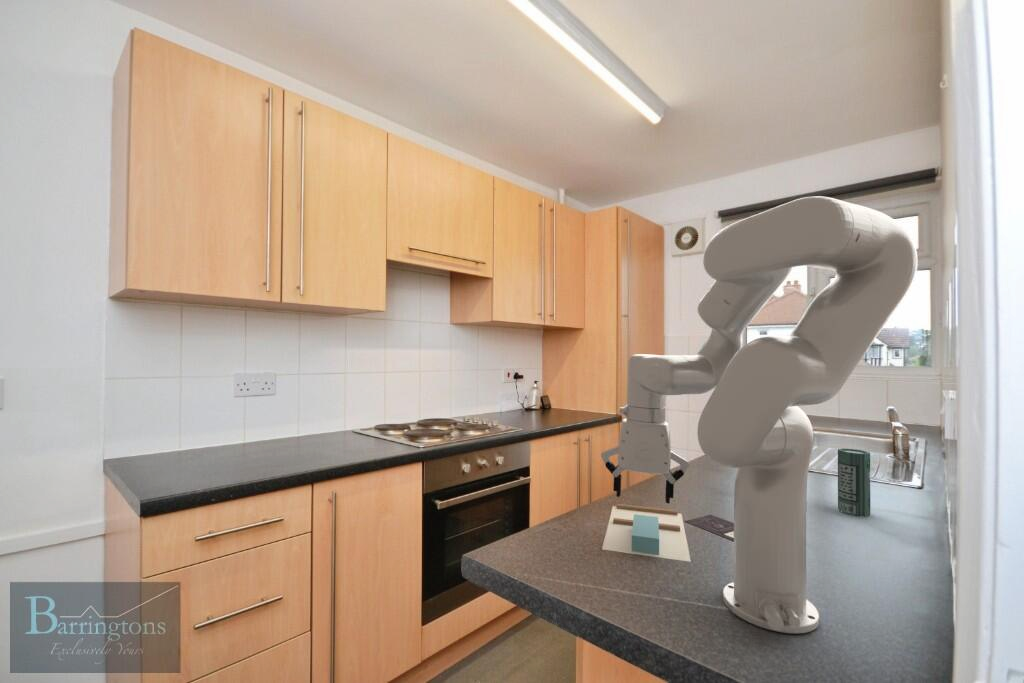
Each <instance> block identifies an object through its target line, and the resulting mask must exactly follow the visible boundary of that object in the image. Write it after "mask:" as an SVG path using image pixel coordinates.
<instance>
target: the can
mask: <svg viewBox="0 0 1024 683" xmlns="http://www.w3.org/2000/svg"><path fill="white" fill-rule="evenodd" d="M838 509H839V510H838ZM837 510H838V511H839V512H841V511H842V512H843V514H845V513H846V515H848V516H853V515H855V516H854V517H860V516H862V517H863V516H864V517H863V518H866V516H867V517H871V453H870V452H869V451H865V450H862V449H857V448H856V449H855V448H838V449H837ZM842 512H841V513H842ZM851 514H852V515H851Z"/></svg>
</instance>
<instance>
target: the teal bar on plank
mask: <svg viewBox="0 0 1024 683" xmlns="http://www.w3.org/2000/svg"><path fill="white" fill-rule="evenodd" d="M632 551H634V552H641V553H648V554H655V555H659V524H658V517H653V516H645V515H636V514H634V519H633V529H632Z"/></svg>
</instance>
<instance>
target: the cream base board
mask: <svg viewBox="0 0 1024 683" xmlns="http://www.w3.org/2000/svg"><path fill="white" fill-rule="evenodd" d="M634 514H636V515H645V516H653V517H658V524H659V555H655V554H648V553H641V552H634V551H632V529H633V519H634ZM601 547H602V549H601V550H603V551H609V552H610V551H611V552H616V553H617V552H618V553H625V554H632V555H639V556H645V557H651V558H660V559H666V560H667V559H668V560H674V561H681V562H686V563H687V562H690V563H691V561H692V560H691V556H690V551H689V545H688V540H687V535H686V531H685V525H684V519H683V515H682V513H678V510H677V509H669V508H658V507H650V506H643V505H642V506H641V505H632V504H622V503H616V505H615V506H614V505H612V507H611V512H610V517H609V518H608V523H607V528H606V532H605V536H604V539H603V544H602V546H601Z"/></svg>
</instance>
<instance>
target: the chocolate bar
mask: <svg viewBox="0 0 1024 683" xmlns="http://www.w3.org/2000/svg"><path fill="white" fill-rule="evenodd" d="M684 522H685V523H686V524H690V525H692V526H694V527H697V528H698V529H699V528H700V529H702V530H705V531H707V532H709V533H711V534H714V535H716V536H720V537H722V538H723V539H726V540H729V541H731V542H734V522H732V521H729V520H726V519H724V518H721V517H718V516H715V515H712V514H708V515H704V516H700V517H696V518H692V519H688V520H684Z"/></svg>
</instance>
